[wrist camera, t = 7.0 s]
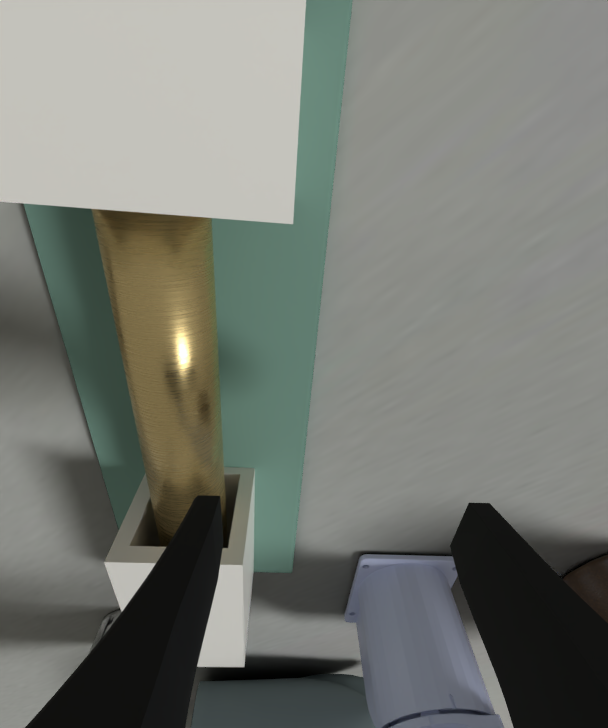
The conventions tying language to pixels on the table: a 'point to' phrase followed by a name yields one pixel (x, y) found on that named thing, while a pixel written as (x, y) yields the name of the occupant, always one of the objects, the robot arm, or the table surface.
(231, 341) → the mat
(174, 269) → the tube
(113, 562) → the sleeve
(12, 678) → the table surface
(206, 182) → the socket
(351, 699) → the pencil case
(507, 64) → the table surface
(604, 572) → the plant pot
